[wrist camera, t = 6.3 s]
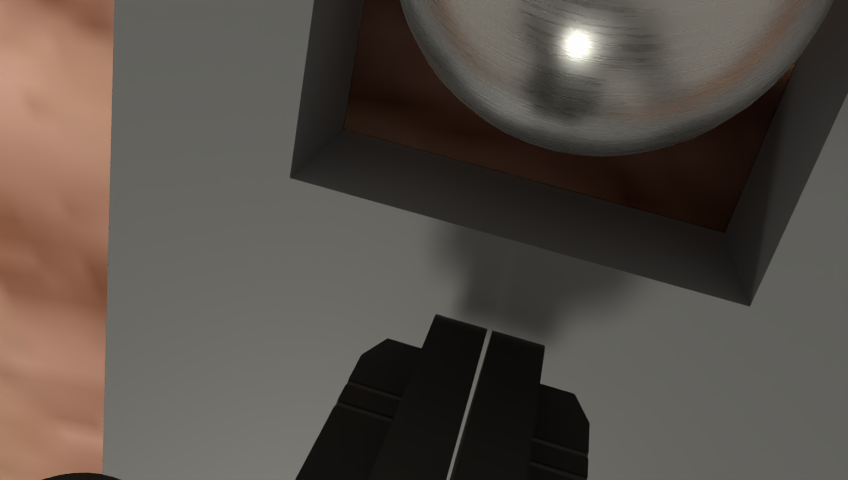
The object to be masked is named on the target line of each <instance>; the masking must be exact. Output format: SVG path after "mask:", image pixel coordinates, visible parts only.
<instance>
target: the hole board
mask: <svg viewBox="0 0 848 480" xmlns="http://www.w3.org/2000/svg"><path fill="white" fill-rule="evenodd" d="M363 6H364V0H115V10H114V49H113V88H112V127H111V166H110V205H109V244H108V282H107V321H106V360H105V399H104V438H103V475H107V476H112V477H115V478H117V479H120V480H295V479H296V477H297V475H298V473H299V471H300V470H301V468H302V466H303V464H304V462H305V460H306V458H307V456H308V454H309V453H310V451H311V449H312V447H313V445H314V443H315V441H316V439H317V437H318V436H319V434H320V432H321V430H322V428H323V426H324V424H325V422H326V420H327V419H328V417H329V415H330V413H331V411H332V409H333V407H334V405H336V403H337V400H338V398H339V396H340V394H341V392H342V390H343V388H344V387H345V385H346V384H347V382H348V379H349V377H350V375H351V373H352V371H353V370H354V368H355V366H356V364H357V362H358V360H359V358H360V356H361V355H362V354H363V353H365V352H366V351H368V350H370V349H371V348H373V347H374V346H376V345H378V344H379V343H381V342H382V341H384V340H385V339H387V338H389V339H392V340H395V341H399V342H402V343H405V344H409V345H412V346H415V347H419V348H422V346H423V344H424V341H425V339H426V336H427V334H428V331H429V329H430V326H431V324H432V322H433V319H434V317H435V315H436V314H438V315H442V316H445V317H448V318H452V319H455V320H459V321H462V322H466V323H469V324H472V325H476V326H479V327H483V328H486V329H487V333H486V337H485V340H484V344H483V348H482V351H481V355H480V359H479V362H478V366H477V370H476V373H475V377H474V381H473V384H472V388H471V392H470V395H469V399H468V402H467V406H466V410H465V413H464V417H463V421H462V424H461V428H460V432H459V435H458V439H457V443H456V446H455V450H454V454H453V457H452V461H451V465H450V468H449V472H448V475H447V479H446V480H450V477H451V473H452V469H453V465H454V462H455V458H456V454H457V451H458V447H459V444H460V440H461V437H462V433H463V429H464V426H465V422H466V419H467V416H468V412H469V409H470V405H471V402H472V398H473V395H474V391H475V388H476V384H477V381H478V377H479V374H480V371H481V367H482V364H483V360H484V357H485V353H486V350H487V346H488V343H489V339H490V336H491V333H492V330H494V331H497V332H500V333H504V334H507V335H511V336H514V337H517V338H521V339H524V340H528V341H531V342H535V343H538V344H541V345H545V352H544V359H543V366H542V373H541V381H540V384H544V385H547V386H550V387H554V388H557V389H560V390H564V391H567V392H570V393H574V394H575V395H576V397H577V399H578V401H579V403H580V405H581V407H582V409H583V411H584V413H585V415H586V417H587V419H588V421H589V423H590V429H589V453H588V457H587V458H588V478H587V480H848V0H833V2H832V5H831V7H830V9H829V11H828V13H827V15H826V17H825V19H824V20H823V22H822V23H821V25H820V26H819V28H818V30H817V31H816V33H815V34H814V36H813V37H812V39H811V40H810V42H809V44H808V45H807V47H806V48H805V50H804V51H803V53H802V54H801V56H800V57H799V58H798V60H797V62H796V65H795V67H794V69H793V72H792V74H791V76H790V79H789V81H788V84H787V86H786V88H785V91H784V93H783V95H782V98H781V100H780V103H779V105H778V107H777V110H776V112H775V115H774V117H773V119H772V122H771V124H770V126H769V129H768V131H767V134H766V136H765V138H764V141H763V143H762V145H761V148H760V150H759V153H758V155H757V157H756V160H755V162H754V165H753V167H752V169H751V172H750V174H749V176H748V179H747V181H746V184H745V186H744V188H743V191H742V193H741V195H740V198H739V200H738V203H737V205H736V207H735V210H734V212H733V215H732V217H731V219H730V222H729V224H728V226H727V229H726V231H725V233H724V232H720V231H716V230H713V229H709V228H705V227H702V226H698V225H694V224H690V223H687V222H683V221H679V220H676V219H672V218H668V217H665V216H661V215H657V214H653V213H650V212H646V211H642V210H639V209H635V208H631V207H628V206H624V205H620V204H617V203H613V202H609V201H605V200H602V199H598V198H594V197H591V196H587V195H583V194H580V193H576V192H572V191H569V190H565V189H561V188H557V187H554V186H550V185H546V184H543V183H539V182H535V181H532V180H528V179H524V178H521V177H517V176H513V175H509V174H506V173H502V172H498V171H495V170H491V169H487V168H484V167H480V166H476V165H472V164H469V163H465V162H461V161H458V160H454V159H450V158H447V157H443V156H439V155H436V154H432V153H428V152H424V151H421V150H417V149H413V148H410V147H406V146H402V145H399V144H395V143H391V142H388V141H384V140H380V139H376V138H373V137H369V136H365V135H362V134H358V133H354V132H351V131H347V130H343V128H344V121H345V115H346V109H347V103H348V97H349V91H350V85H351V79H352V73H353V67H354V61H355V55H356V49H357V43H358V36H359V30H360V24H361V18H362V12H363Z"/></svg>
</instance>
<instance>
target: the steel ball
mask: <svg viewBox="0 0 848 480" xmlns="http://www.w3.org/2000/svg"><path fill="white" fill-rule="evenodd" d="M832 2H833V0H400V3H401V6H402V9H403V12H404V15H405V18H406V21H407V24H408V27H409V29H410V31H411V33H412V35H413V37H414V39H415V41H416V42H417V44H418V46H419V48H420V50H421V52H422V54H423V55H424V57H425V59H426V60H427V62H428V63H429V65H430V66H431V68H432V69H433V70H434V72H435V73H436V75H437V76H438V77H439V79H440V80H441V81H442V82H443V83H444V85H445V86H446V87H447V88H448V89H449V90H450V91H451V92H452V93H453V94H454V95H455V96H456V97H457V98H458V99H459V100H460V101H461V102H462V103H464V104H465V105H466V106H467V107H468V108H470V109H471V110H472V111H473V112H475V113H476V114H477V115H478V116H480V117H481V118H482V119H483V120H485V121H486V122H488V123H490V124H491V125H493V126H495V127H496V128H498V129H499V130H501V131H503V132H504V133H507V134H509V135H511V136H513V137H515V138H518V139H520V140H522V141H524V142H526V143H529V144H532V145H536V146H539V147H542V148H545V149H548V150H552V151H557V152H563V153H568V154H574V155H583V156H600V157H606V156H623V155H632V154H638V153H643V152H648V151H654V150H658V149H662V148H665V147H669V146H672V145H675V144H678V143H681V142H684V141H688V140H690V139H692V138H695V137H697V136H699V135H701V134H703V133H705V132H708V131H710V130H712V129H714V128H716V127H717V126H719V125H720V124H722V123H724V122H725V121H727V120H728V119H730V118H732V117H733V116H735V115H736V114H738V113H739V112H741V111H743V110H744V109H746V108H747V107H749V106H750V105H751V104H752V103H754V102H755V101H756V100H757V99H758V98H760V97H761V96H762V95H763V94H764V93H765V92H767V91H768V90H769V89H770V88H771V87H772V86H773V85H774V84H775V83H776V82H777V81H778V80H779V79H780V78H781V77H782V76H783V75H784V74H785V73H786V71H787V70H788V69H789V68H790V67H791V66H792V65H793V64H794V62H795V61H796V60H797V59H798V58H799V57H800V56H801V54H802V53H803V51H804V50H805V48H806V47H807V45H808V44H809V42H810V40H811V39H812V37H813V36H814V34H815V33H816V31H817V30H818V28H819V26H820V25H821V23H822V22H823V20H824V19H825V17H826V15H827V13H828V11H829V9H830V7H831V5H832Z"/></svg>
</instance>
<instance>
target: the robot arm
mask: <svg viewBox="0 0 848 480" xmlns="http://www.w3.org/2000/svg"><path fill="white" fill-rule="evenodd" d="M486 333H487V329H486V328H483V327H479V326H476V325H472V324H469V323H466V322H462V321H459V320H455V319H452V318H448V317H445V316H442V315H438V314H436V315H435V317H434V319H433V322H432V324H431V326H430V329H429V331H428V334H427V336H426V339H425V341H424V344H423V346H422V348H419V347H415V346H412V345H409V344H405V343H402V342H399V341H395V340H392V339H389V338H387V339H385V340H384V341H382V342H381V343H379V344H378V345H376V346H374V347H373V348H371V349H370V350H368V351H366V352H365V353H363V354H362V355H361V356H360V358H359V360H358V362H357V364H356V366H355V368H354V370H353V371H352V373H351V375H350V377H349V379H348V382H347V384H346V385H345V387H344V388H343V390H342V392H341V394H340V396H339V398H338V400H337V403H336V405H334V407H333V409H332V411H331V413H330V415H329V417H328V419H327V420H326V422H325V424H324V426H323V428H322V430H321V432H320V434H319V436H318V437H317V439H316V441H315V443H314V445H313V447H312V449H311V451H310V453H309V454H308V456H307V458H306V460H305V462H304V464H303V466H302V468H301V470H300V471H299V473H298V475H297V477H296V479H295V480H446V479H447V475H448V472H449V468H450V465H451V461H452V457H453V454H454V450H455V446H456V443H457V439H458V435H459V432H460V428H461V424H462V421H463V417H464V413H465V410H466V406H467V402H468V399H469V395H470V392H471V388H472V384H473V381H474V377H475V373H476V370H477V366H478V362H479V359H480V355H481V351H482V348H483V344H484V340H485V337H486ZM544 352H545V345H541V344H538V343H535V342H531V341H528V340H524V339H521V338H517V337H514V336H511V335H507V334H504V333H500V332H497V331H494V330H492V333H491V336H490V339H489V343H488V346H487V350H486V353H485V357H484V360H483V364H482V367H481V371H480V374H479V377H478V381H477V384H476V388H475V391H474V395H473V398H472V402H471V405H470V409H469V412H468V416H467V419H466V422H465V426H464V429H463V433H462V437H461V440H460V444H459V447H458V451H457V454H456V458H455V462H454V465H453V469H452V473H451V477H450V480H587V478H588V458H587V457H588V453H589V429H590V423H589V421H588V419H587V417H586V415H585V413H584V411H583V409H582V407H581V405H580V403H579V401H578V399H577V397H576V395H575V394H574V393H570V392H567V391H564V390H560V389H557V388H554V387H550V386H547V385H544V384H540V381H541V373H542V366H543V359H544ZM43 480H120V479H117V478H115V477H112V476H107V475H103V474H96V473H71V474H64V475H58V476H54V477H50V478H46V479H43Z"/></svg>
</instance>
